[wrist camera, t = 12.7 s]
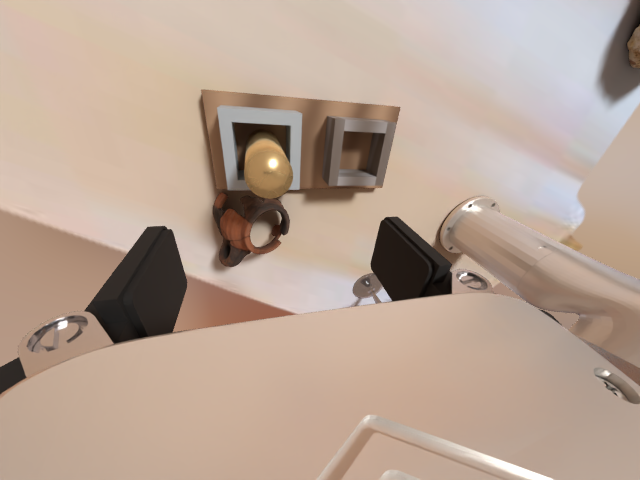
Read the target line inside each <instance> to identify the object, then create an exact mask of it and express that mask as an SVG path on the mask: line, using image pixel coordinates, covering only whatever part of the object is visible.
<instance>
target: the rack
mask: <svg viewBox="0 0 640 480" xmlns="http://www.w3.org/2000/svg"><path fill="white" fill-rule="evenodd" d="M217 111H218V119H219V127H220V134H221V142H222V149H223V157H224V165H225V172H226V180H227V187H228V190H250V189H249V187H248V186H247V184H246V181H245V177H244V170H239V165H238V155H237V145H236V135H235V125H234V122H239V123H256V124H273V125H286V157H287V159H288V161H289V163H290V165H291V167H292V170H293V181H292V184H291V186H290V188H289V190H300V161H301V133H302V113H300V112H298V111H293V110H280V109H266V108H253V107H240V106H226V105H220V106H219V107H217Z"/></svg>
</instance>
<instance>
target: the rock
mask: <svg viewBox="0 0 640 480" xmlns="http://www.w3.org/2000/svg"><path fill="white" fill-rule="evenodd" d="M627 47H628V50H629V62H630V65H631V66H632V67H633V68H640V25H639V26H638V27H637V28H636V29H635V31H634V33H633V34H632V36H631V38H630V40H629V41H628V43H627Z"/></svg>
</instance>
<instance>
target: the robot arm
mask: <svg viewBox="0 0 640 480" xmlns="http://www.w3.org/2000/svg"><path fill="white" fill-rule="evenodd" d="M440 242H441V244H442V246H443V247H444V248H445V249H446V250H447V251H449V252H452V253H462V252H463V253H464V254H466V255H467V256H468V257H469V258H471V259H472V260H473V261H475V262H476V263H477V264H478V265H480V266H481V267H482V268H484V269H485V270H486V271H487V272H489V273H490V274H491V275H493V276H494V277H495V278H496V279H498V280H499V281H500V282H502V283H503V284H504V285H505V286H507V287H508V288H509V289H511V290H512V291H513V292H515V293H516V294H517V295H519V296H520V297H521V298H522V299H524V300H525V301H526V302H524V301H522V300H518V299H515V298H512V297H508V296H504V295H497V294H495V293H493V288H492V285H491V283H490V282H489V281H488V280H487V279H486V278H484V277H483V276H481V275H480V274H478V273H476V272H473V271H470V270H466V269H457V270H455V271H453V273H451V272H450V271H449V270H450V268H451V265H452V264H451V263H450V262H449V261H447V260H446V259H445V258H444V257H443V256H442V255H441V254H439V253H438V252H437V251H436V250H435V249H434V248H433V247H431V246H430V245H429V244H428V243H427V242H426V241H425V240H423V239H422V238H421V237H420V236H419V235H418V234H417V233H416V232H414V231H413V230H412V229H411V228H410V227H409V226H408V225H406V224H405V223H404V222H403V221H402V220H401V219H400V218H398V217H386V218H385V219H384V220H382V221H381V223H380V227H379V231H378V235H377V239H376V244H375V248H374V252H373V256H372V260H371V269H372V271H373V272H374V274H375V275H376V277H377V278H378V280H379V281H380V283H381V284H382V286H383V287H384V289H385V290H386V292H387V293H388V295H389V296H390V298H391V299H392V301H391V302H384V303H377V304H369V305H362V306H355V307H347V308H340V309H333V310H326V311H319V312H311V313H304V314H297V315H290V316H283V317H276V318H269V319H262V320H255V321H248V322H241V323H235V324H227V325H221V326H213V327H206V328H199V329H192V330H186V331H179V332H173V329H174V326H175V323H176V320H177V317H178V314H179V311H180V307H181V304H182V301H183V298H184V295H185V292H186V288H187V279H186V276H185V272H184V269H183V265H182V262H181V258H180V255H179V251H178V248H177V244H176V241H175V237H174V234H173V231H172V230H171V229H167V228H166V227H165V226H154V227H147V228H146V230H145V231H144V232H143V234H142V235H141V236H140V238H139V239H138V240H137V242H136V243H135V244H134V246H133V247H132V248H131V250H130V251H129V252H128V254H127V255H126V256H125V258H124V259H123V260H122V262H121V263H120V264H119V265H118V267H117V268H116V269H115V271H114V272H113V273H112V275H111V276H110V277H109V279H108V280H107V281H106V283H105V284H104V285H103V287H102V288H101V289H100V291H99V292H98V293H97V295H96V296H95V297H94V299H93V300H92V301H91V303H90V304H89V305H88V307H87V308H86V309H85V311H74V312H69V313H65V314H62V315H59V316H56V317H54V318H51V319H49V320H47V321H45V322H44V323H41V324H40V325H38V326H37V327H36V328H34V329H33V330H31V331H30V332H29V333H28V334H27V335H26V336H25V337H24V338H23V339H22V340H21V342H20V344H19V345H18V355H19V358H17V359H15V360H13V361H11V362H9V363H7V364H5V365H4V366H2V367H0V480H640V279H637V278H635V277H632V276H630V275H627V274H625V273H623V272H620V271H618V270H615V269H613V268H611V267H609V266H607V265H605V264H602V263H601V262H598V261H596V260H594V259H592V258H590V257H588V256H586V255H584V254H582V253H580V252H578V251H576V250H574V249H571V248H569V247H567V246H565V245H563V244H561V243H559V242H557V241H555V240H553V239H551V238H549V237H547V236H545V235H543V234H541V233H539V232H537V231H535V230H533V229H531V228H529V227H527V226H525V225H523V224H521V223H519V222H517V221H515V220H513V219H511V218H509V217H507V216H505V215H503V214H501V213H500V208H499V205H498V203H497V202H496V201H495V200H494V199H492V198H489V197H486V196H478V197H473V198H471V199H468V200H467V201H465V202H463V203H461V204H460V205H459V206H458V207H456V208H455V209H454V210H453V211H452V212H451V213H450V215H449V216H448V217H447V219H446V220H445V222H444V224H443V226H442V228H441V232H440ZM527 302H528V303H527ZM530 304H531V305H530ZM532 305H533V306H532ZM534 306H535V307H537V308H540V309H543V310H548V311H554V312H565V313H575V314H578V315H579V319H578V321H577V322H576V323H575V324H574V325H572V327H571V328H570V329H568V330H567V329H566V328H564V327H563V326H562V325H561V324H560V323H559V322H558V321H557V320H556V319H555V318H554V317H553V316H552V315H551V314H549V313H547V312H545V311H543V310H540V309H537V308H535V307H534ZM172 332H173V333H172Z"/></svg>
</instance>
